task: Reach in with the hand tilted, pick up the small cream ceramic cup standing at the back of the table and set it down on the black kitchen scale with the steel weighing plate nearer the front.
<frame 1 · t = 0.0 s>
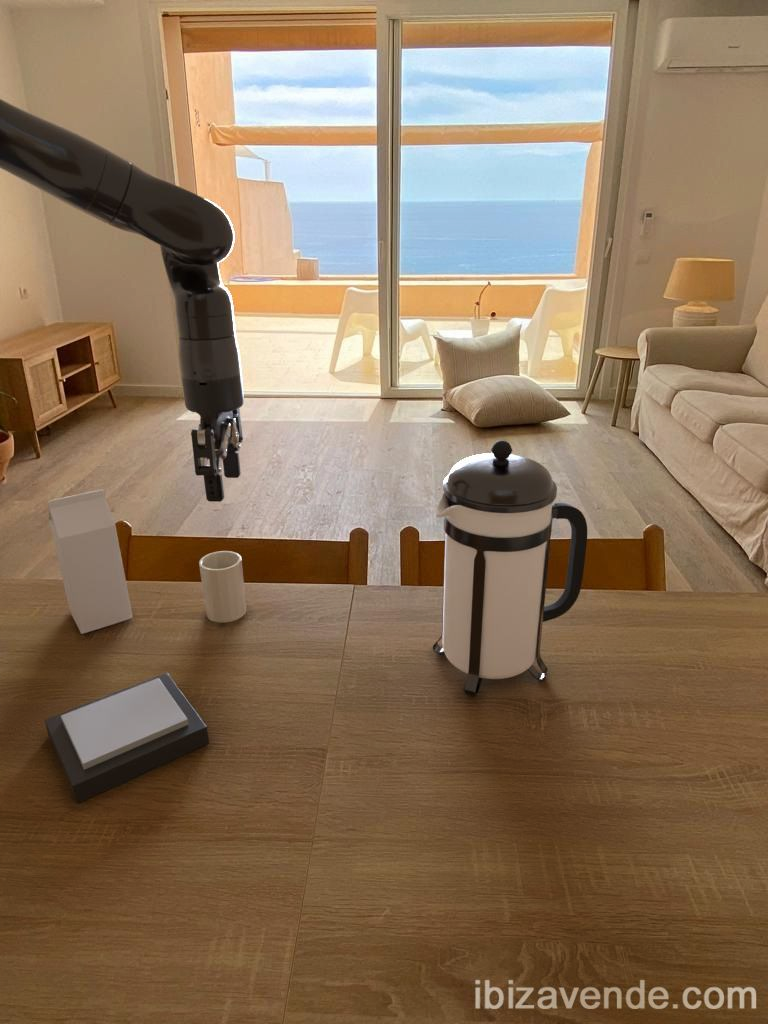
hand: (224, 488, 95), 19 cm above the table, tool pointing down, fingers open, 8 cm apart
coffee press: (495, 660, 90), on the table
milk carton: (101, 617, 101), on the table
cup: (226, 611, 101), on the table
scale: (128, 740, 77), on the table
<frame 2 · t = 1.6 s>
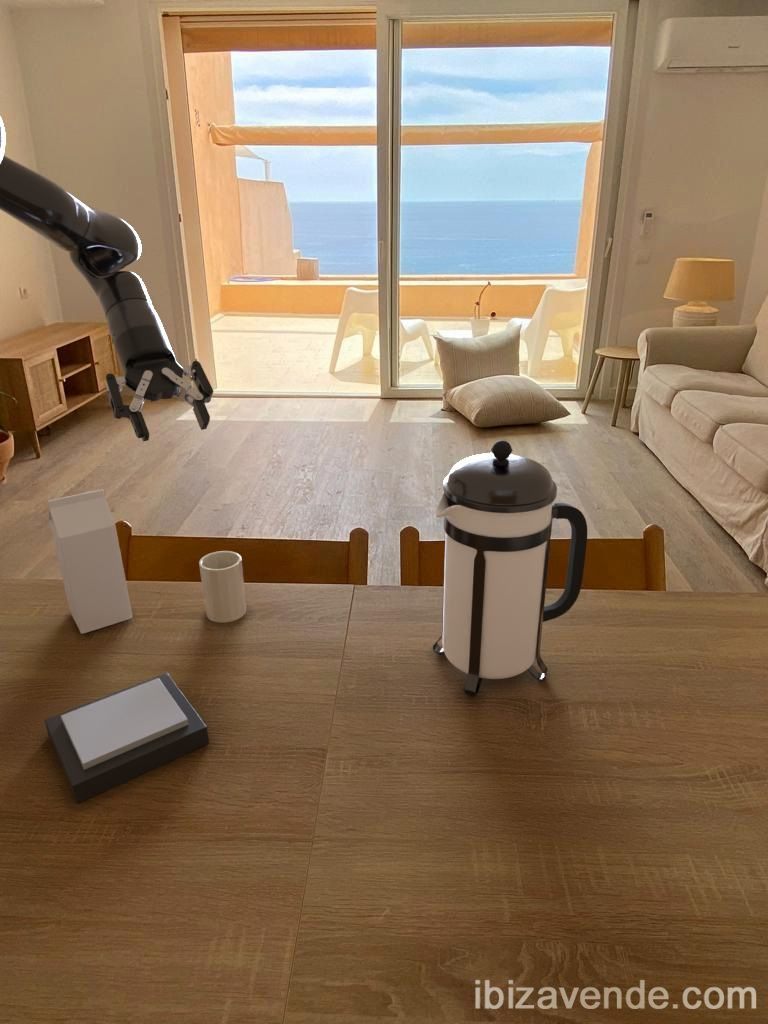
hand: (176, 432, 99), 25 cm above the table, tool tilted 45°, fingers open, 8 cm apart
nothing on the table moved.
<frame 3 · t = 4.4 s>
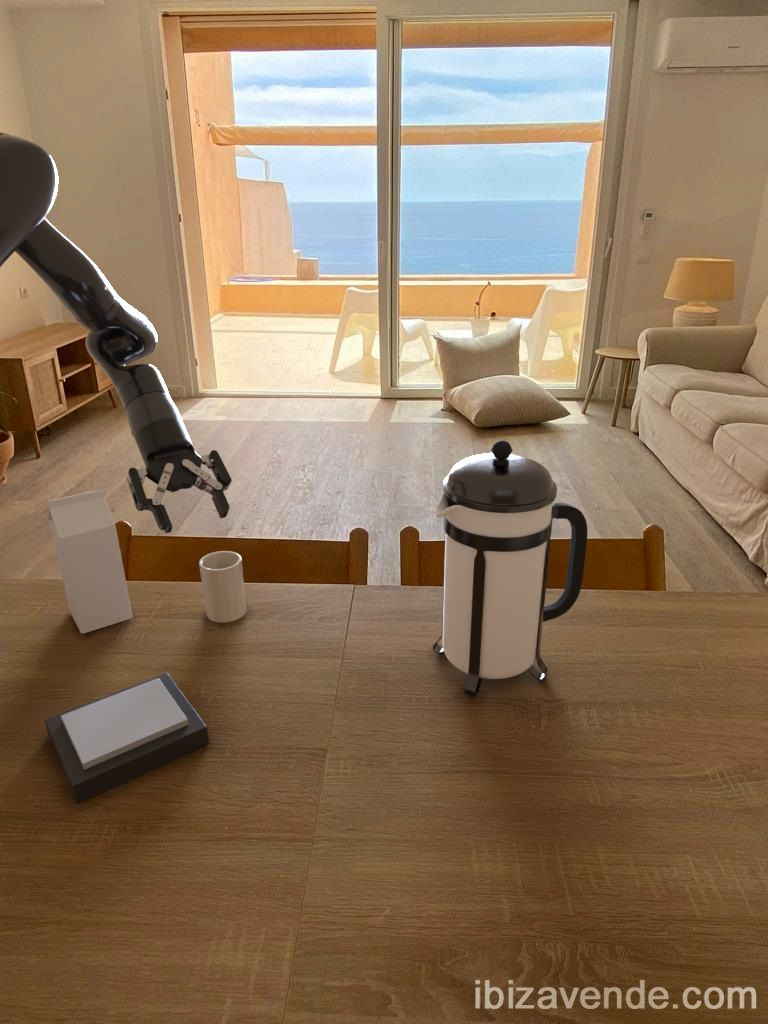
hand: (197, 523, 102), 12 cm above the table, tool tilted 45°, fingers open, 8 cm apart
nothing on the table moved.
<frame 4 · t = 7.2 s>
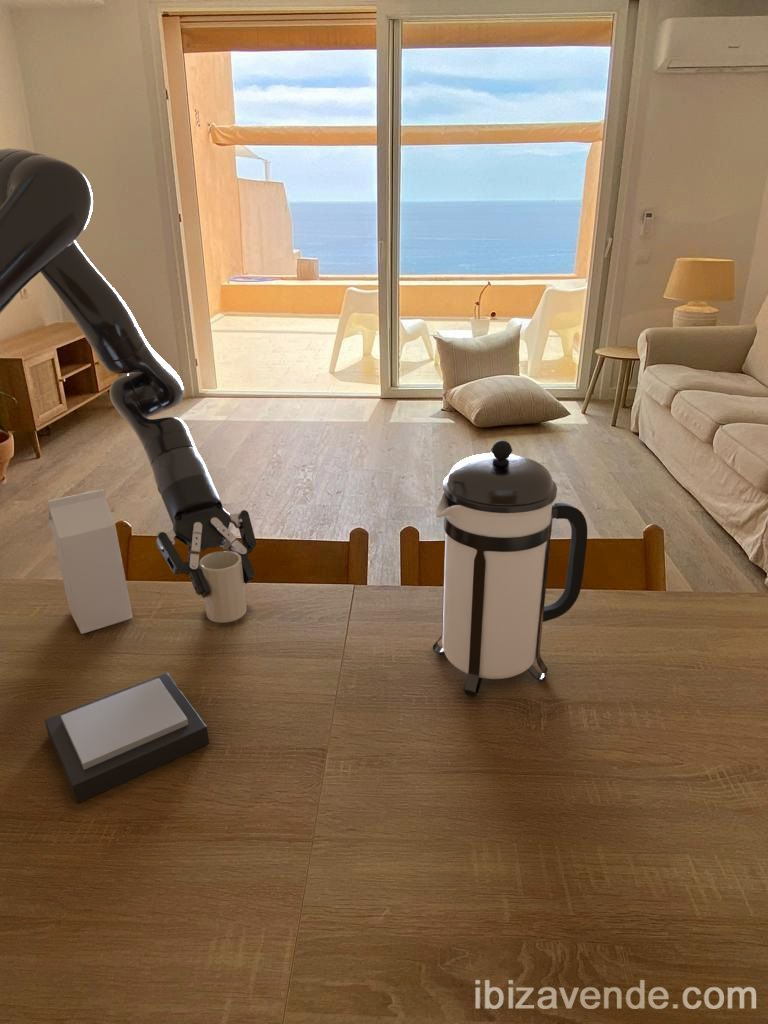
hand: (228, 588, 98), 5 cm above the table, tool tilted 45°, fingers closed on cup, 6 cm apart
cup: (226, 611, 101), on the table, touching gripper
everything else where it was.
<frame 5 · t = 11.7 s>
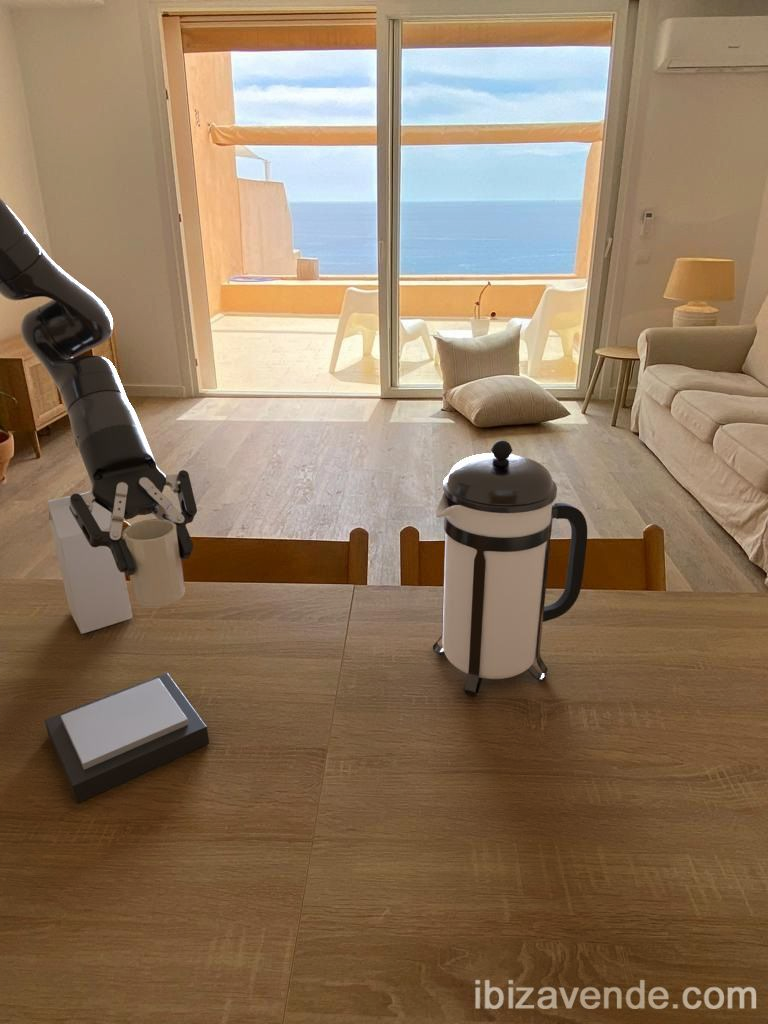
hand: (159, 564, 79), 17 cm above the table, tool tilted 45°, fingers closed on cup, 6 cm apart
cup: (159, 594, 82), point 12 cm above the table, touching gripper
everything else where it was.
when the fingers open (8 cm above the table, at t = 16.3 s): cup stays where it is, resting on scale.
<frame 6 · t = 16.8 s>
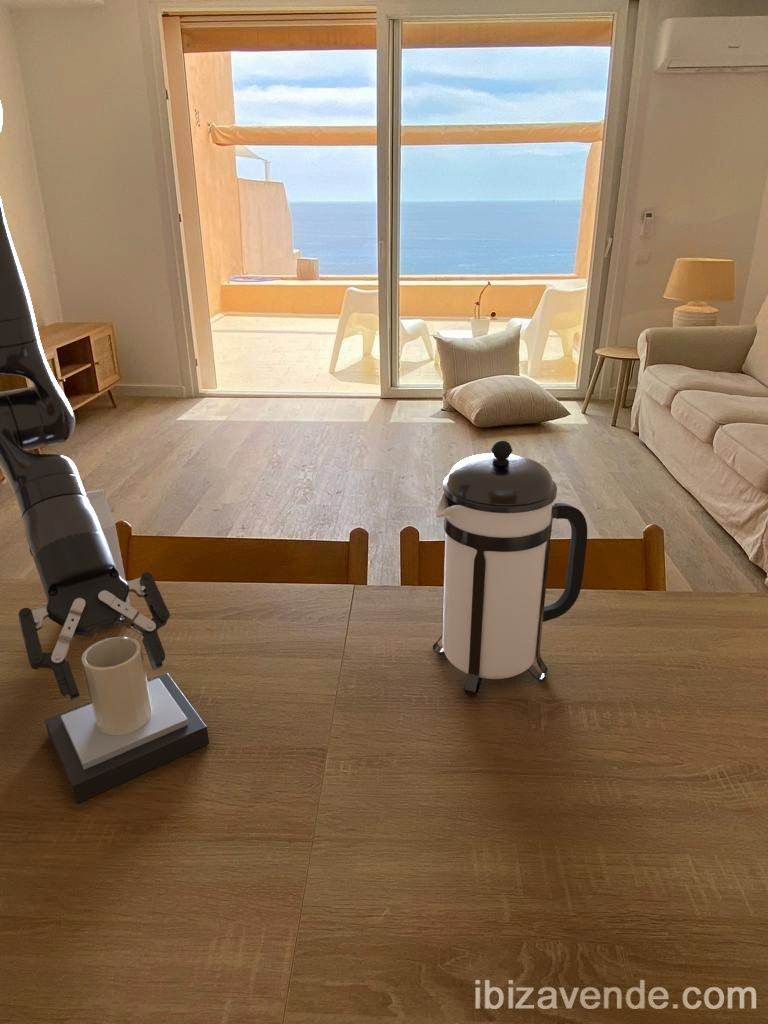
hand: (118, 682, 73), 9 cm above the table, tool tilted 45°, fingers open, 8 cm apart
cup: (124, 716, 76), point 3 cm above the table, touching scale
everything else where it was.
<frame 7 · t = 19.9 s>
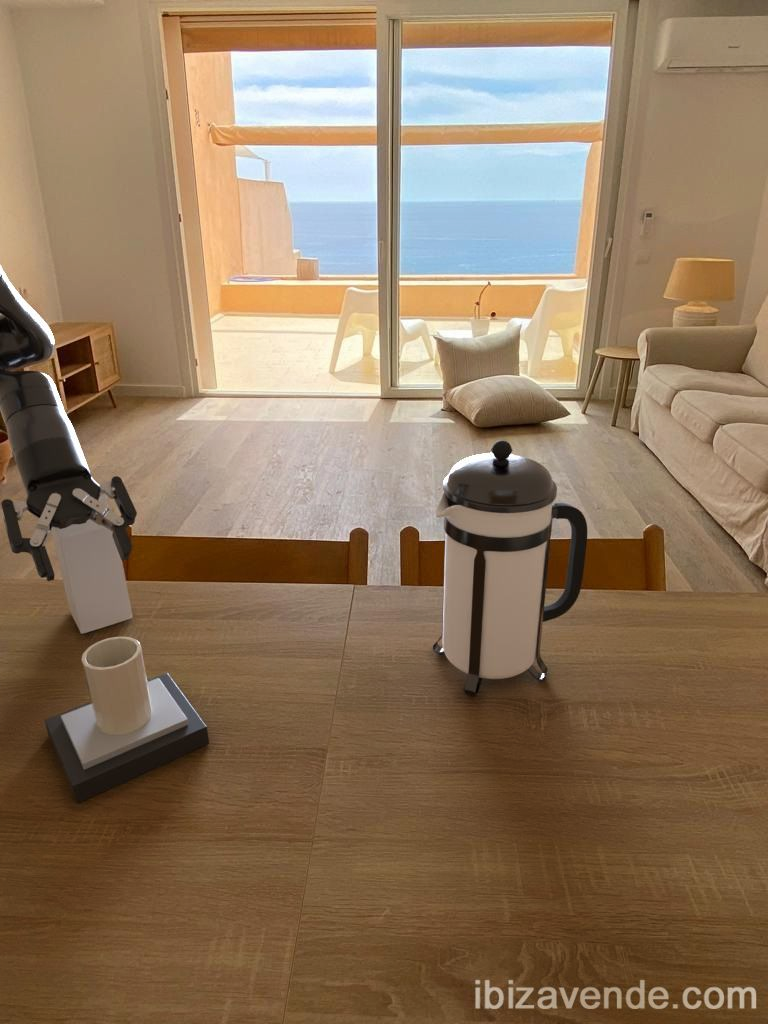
hand: (89, 567, 82), 15 cm above the table, tool tilted 45°, fingers open, 8 cm apart
nothing on the table moved.
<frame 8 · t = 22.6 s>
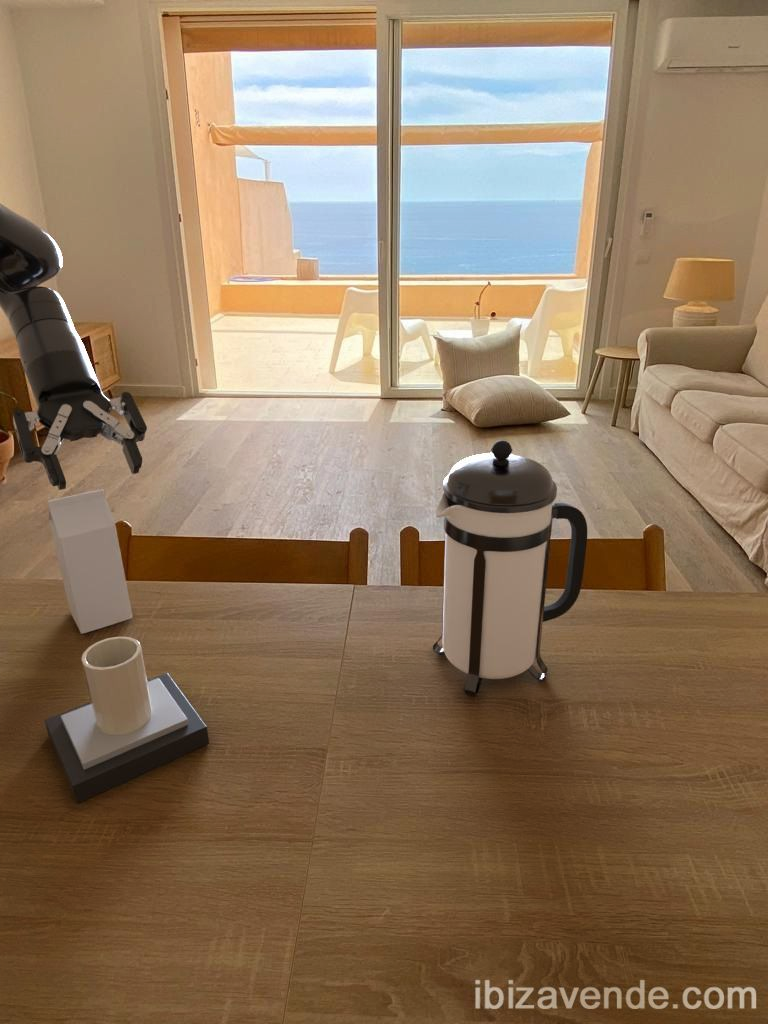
hand: (100, 478, 83), 25 cm above the table, tool tilted 45°, fingers open, 8 cm apart
nothing on the table moved.
at the end: cup inside the target area on the scale (0.1 cm from its centre), point 3.2 cm above the scale's base; cup tilted 0°; the gripper is holding nothing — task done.
